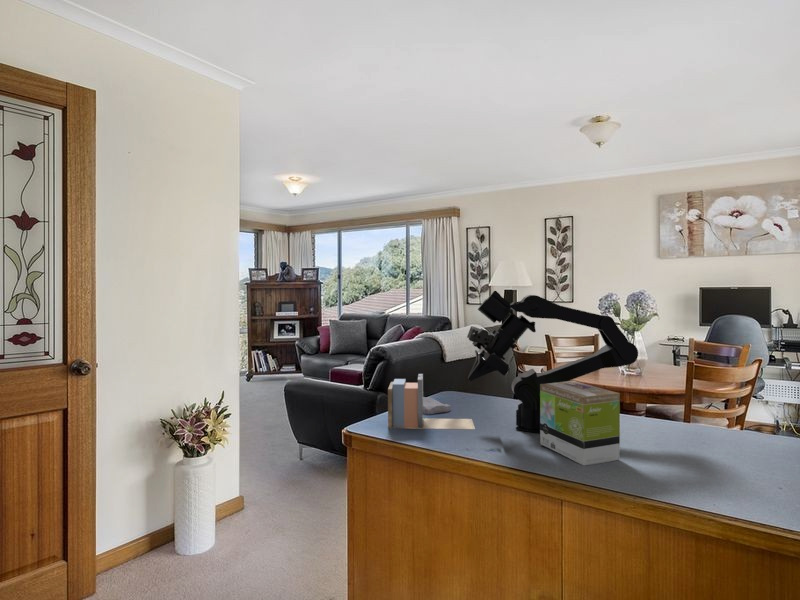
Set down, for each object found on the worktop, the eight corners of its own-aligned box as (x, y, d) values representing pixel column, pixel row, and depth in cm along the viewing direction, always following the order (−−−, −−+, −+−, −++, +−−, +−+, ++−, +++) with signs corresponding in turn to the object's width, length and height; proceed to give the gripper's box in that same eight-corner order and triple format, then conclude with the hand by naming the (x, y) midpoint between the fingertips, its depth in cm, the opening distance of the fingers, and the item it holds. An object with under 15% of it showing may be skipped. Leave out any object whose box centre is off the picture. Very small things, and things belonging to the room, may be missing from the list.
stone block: (433, 413, 157) (405, 410, 152) (436, 397, 157) (408, 394, 152) (454, 423, 146) (424, 420, 142) (457, 406, 146) (427, 403, 142)
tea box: (538, 445, 117) (538, 382, 117) (573, 441, 120) (573, 379, 120) (583, 467, 103) (583, 395, 103) (621, 460, 106) (621, 391, 106)
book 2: (418, 419, 137) (418, 382, 136) (417, 427, 129) (417, 388, 128) (405, 419, 137) (405, 382, 137) (404, 427, 129) (404, 388, 129)
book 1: (405, 419, 137) (405, 378, 137) (404, 427, 129) (404, 384, 129) (394, 419, 137) (394, 378, 137) (392, 427, 129) (392, 384, 129)
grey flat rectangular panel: (423, 417, 137) (422, 373, 137) (422, 426, 128) (422, 379, 128) (418, 417, 137) (418, 373, 137) (417, 426, 128) (417, 379, 128)
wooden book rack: (471, 423, 137) (471, 382, 136) (475, 433, 127) (475, 389, 127) (391, 422, 138) (391, 381, 138) (388, 432, 128) (387, 388, 128)
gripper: (477, 309, 139) (441, 352, 141) (492, 322, 121) (450, 371, 122) (507, 333, 141) (471, 376, 142) (526, 350, 122) (485, 399, 124)
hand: (469, 379), depth 133 cm, fingers closed
